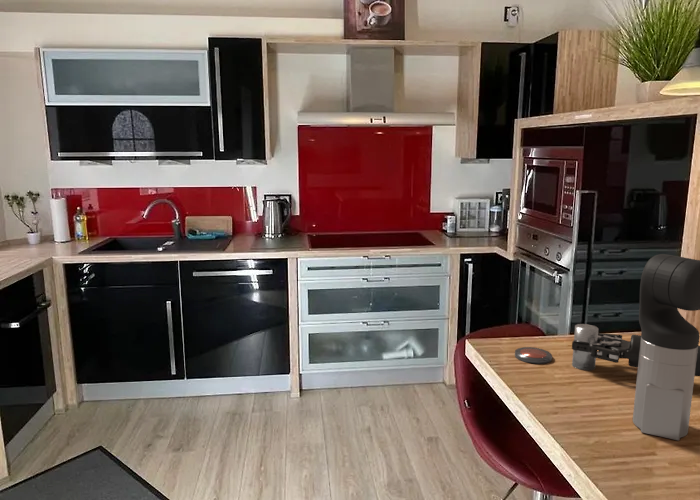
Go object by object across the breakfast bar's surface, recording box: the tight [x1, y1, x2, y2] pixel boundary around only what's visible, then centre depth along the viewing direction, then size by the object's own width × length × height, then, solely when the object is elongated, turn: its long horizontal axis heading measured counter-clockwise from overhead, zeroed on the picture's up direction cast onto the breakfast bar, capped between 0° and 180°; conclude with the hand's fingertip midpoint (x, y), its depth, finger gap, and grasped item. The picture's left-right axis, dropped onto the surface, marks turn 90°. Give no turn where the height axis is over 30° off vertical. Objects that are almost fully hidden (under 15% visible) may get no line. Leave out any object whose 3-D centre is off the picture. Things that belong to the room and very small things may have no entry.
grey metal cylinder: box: [571, 323, 599, 371], centre depth 129 cm, size 5×5×10 cm
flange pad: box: [514, 346, 553, 365], centre depth 135 cm, size 9×9×1 cm
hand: (574, 341), depth 130 cm, fingers closed on grey metal cylinder, 5 cm apart
